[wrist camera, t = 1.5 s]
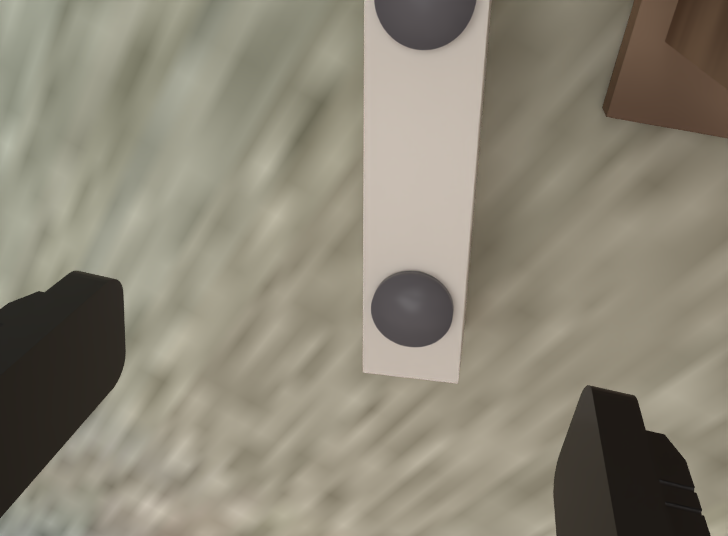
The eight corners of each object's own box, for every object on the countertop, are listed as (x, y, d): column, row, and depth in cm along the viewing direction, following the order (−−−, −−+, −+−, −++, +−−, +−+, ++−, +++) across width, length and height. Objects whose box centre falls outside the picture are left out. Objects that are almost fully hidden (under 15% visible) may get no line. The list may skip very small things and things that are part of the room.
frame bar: (388, -121, 21) (361, -130, 17) (502, -121, 21) (500, -131, 17) (381, 317, 29) (360, 378, 25) (464, 325, 28) (457, 390, 24)
